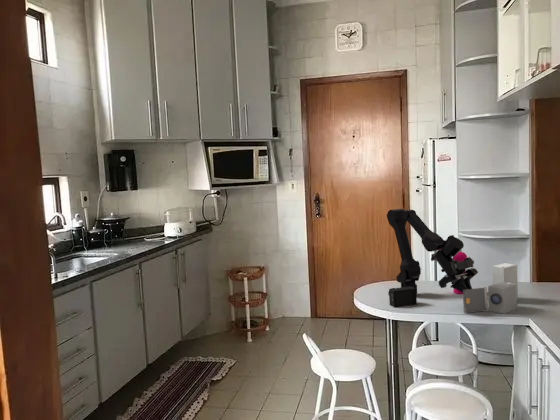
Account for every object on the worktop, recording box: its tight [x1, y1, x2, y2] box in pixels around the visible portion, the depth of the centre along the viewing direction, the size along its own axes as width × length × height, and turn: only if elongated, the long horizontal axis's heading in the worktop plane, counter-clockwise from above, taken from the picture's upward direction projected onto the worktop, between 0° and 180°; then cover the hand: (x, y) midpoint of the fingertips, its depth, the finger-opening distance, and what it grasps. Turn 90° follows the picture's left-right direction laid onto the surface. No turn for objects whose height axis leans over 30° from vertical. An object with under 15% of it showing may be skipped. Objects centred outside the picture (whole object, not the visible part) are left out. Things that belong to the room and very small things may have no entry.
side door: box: [462, 286, 488, 314], centre depth 176 cm, size 10×2×9 cm, turn 101°
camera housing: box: [487, 282, 518, 315], centre depth 177 cm, size 6×11×10 cm, turn 126°
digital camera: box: [388, 286, 418, 308], centre depth 192 cm, size 10×5×7 cm, turn 104°
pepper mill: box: [452, 248, 468, 295], centre depth 205 cm, size 7×7×20 cm
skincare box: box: [491, 262, 519, 300], centre depth 189 cm, size 8×6×15 cm
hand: (472, 295), depth 177 cm, fingers closed
